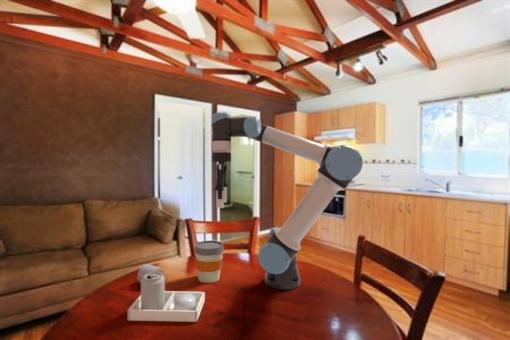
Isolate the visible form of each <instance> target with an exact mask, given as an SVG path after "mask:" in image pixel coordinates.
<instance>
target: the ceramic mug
mask: <svg viewBox="0 0 510 340" xmlns="http://www.w3.org/2000/svg"><path fill="white" fill-rule="evenodd" d="M150 272H161V273H162V274H163V275H162V276H163V277H164V278H165V279H166V275H165V272H164V269H163V268H161V267H160V266H155V265H152V264H150V263H149V264H148V263H145V264H143V265H141V267H139V270H138V271H137V281H138V283H140V284H141V280H142V279H143V276H144V275H145V274H147V273H150Z"/></svg>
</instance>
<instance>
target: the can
mask: <svg viewBox="0 0 510 340" xmlns="http://www.w3.org/2000/svg"><path fill="white" fill-rule="evenodd" d="M162 275H163V274H162V273H161V272H150V273H147V274H145V275H144V276H143V279H142V280H141V283H140V295H141V310H162V309H163V307H164V305H165V291H166V290H165V289H166V288H165V283H166V281H165V279H166V277H165V278H164V277H163V276H162Z"/></svg>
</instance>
